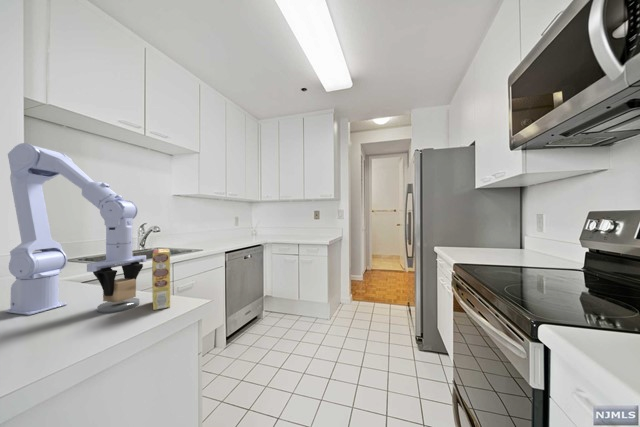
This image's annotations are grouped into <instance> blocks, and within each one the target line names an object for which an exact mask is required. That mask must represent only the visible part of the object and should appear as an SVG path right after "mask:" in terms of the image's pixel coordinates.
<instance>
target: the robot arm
mask: <svg viewBox="0 0 640 427" xmlns="http://www.w3.org/2000/svg"><path fill="white" fill-rule="evenodd" d="M7 156H8V157H7V158H8V164H9V169H10V176H9V179H10V180H9V181H10V186H11V190H12V196H13V202H14V207H15V213H16V219H17V220H16V221H17V225H18V230H19V236H20V242H21V243H20V244H18V245H17V246H16V247H14V248H12V249H11V250H10V251H9V253H10V254H9V255H10V259H9V262H8V270H9V272H10V274H11V275H12V276H13V277H15V280H14V282H13V283H12V284H11V285H10V286H11V287H10V308H8V309H6V310H5V312H4V313H12V314H18V315H29V316H31V315H34V314H37V313H41V312H45V311H49V310H53V309H55V308H60V307H63V306H66V305H68V302H63V301H60V297H59V296H60V292H59V291H60V289H59V288H60V274H61V273H62V270H63V269H65V267H66V266H67V265H68V256H67V254H66V253H65V251H64V250H63V247H62V244H61V243H59V242H58V241H56V240H54V239H53V238H52V233H51V229H50V228H51V227H50V222H49V216H48V210H47V205H46V200H45V194H44V190H43V184H45V182H48V181H50V180H52V179H53V178H55V177H57V176H59V175H61V176H62V177H64V178H65V179H67V180H68V181H69V182H71V183H72V184H73V185H74V186H77V187H78V188H79V189H80V190H81V196H82V197H83V198H84V199H86V200H87V202H90V204H92V205H93V206H94V207H95V208H97V209H98V210H99V213H100V216H101V217H102V219H103V220H104V226H105V230H106V231H105V233H106V234H105V235H106V236H105V240H106V241H105V260H99V261H96V262H90V263H87V264H86V273H87V272H89V273H91V272H92V273H93V275H94V277H96V279H97V281H98V282H99V283H100V285H101V286H100V287H101V288H102V293H103V292H104V295H105V296H113V292H114V281H115V280H116V276H117V273H118V270H116V269H113V268H117V267H121V268H122V272H123V278H128V279H136V280H137V277H138V276H139V274H140V272H141V271H142V269H143V267H144V264H143V263H147V255H142V254H141V255H135V256H133V239H134V238H133V234H134V233H133V232H134V231H133V230H134V229H133V228H134V227H133V224H134V222H133V220H134V219H135V218H136V217H137V214H138V207H137V205H136V204H135V203H134V202H133V201H131V200H124V198H123V196H122V195H121V194H117V193H116V192H115V191H114V190H112V189H111V188H110V184H109V183H107V182H102V181H94V180H93V179H92V178H91V177H90V176H89V175H88V174H86V173H85V172H84V171H83V170H82V169H81V168H80V167H79V166H77V164H76V163H74V162H73V158H70V157H69V156H68V155H66V154H65V153H64V152H61V151H54V150H52V149H49V148H44V147H40V146H36V145H33V144H31V143H28V142H22V143H19V144H16V145H15V146H14V147H13V148H12V149H11V150H10V151H9V152H8V153H7Z"/></svg>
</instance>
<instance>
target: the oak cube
mask: <svg viewBox="0 0 640 427" xmlns="http://www.w3.org/2000/svg"><path fill="white" fill-rule="evenodd" d="M136 292H137V278H136V279H128V278H124V277H121V278H117V279H116V278H115V281H114V292H113V296H105V295H104V292H103V291H102V295H103V296H102V302H117V303H118V302H121V301H124V300H127V299H130V298H137V297H136V296H137V295H136V294H137V293H136Z"/></svg>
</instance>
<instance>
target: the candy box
mask: <svg viewBox="0 0 640 427" xmlns="http://www.w3.org/2000/svg"><path fill="white" fill-rule="evenodd" d="M170 252H171V251H170V249H169V248H159V249H153V251H152V265H151V266H152V268H151V270H152V272H151V274H152V278H151V281H152V310H153V311H157V310H161V309H167V308H171V257H170V256H171V255H170V254H171V253H170Z"/></svg>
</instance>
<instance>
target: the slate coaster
mask: <svg viewBox="0 0 640 427" xmlns="http://www.w3.org/2000/svg"><path fill="white" fill-rule="evenodd" d="M139 305H140V299H139V298H137V297H133V298H130V299H127V300H124V301H121V302H118V303H117V302H107V301H104V302H103V303H100V304H99V305H97V310H96V311H97V312H98V313H100V314H110V313H119V312H122V311H128V310H130V309H133V308H135V307H137V306H139Z"/></svg>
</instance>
